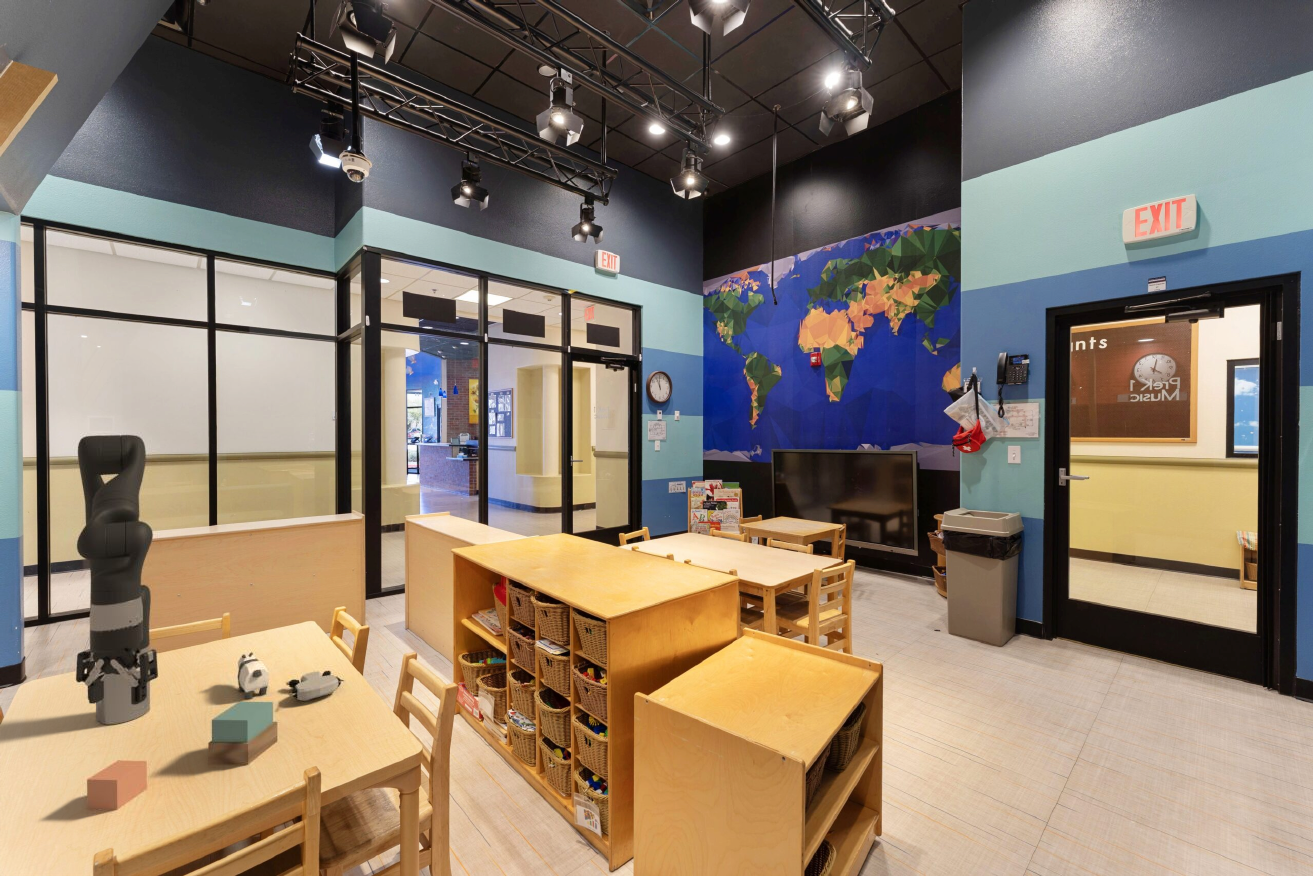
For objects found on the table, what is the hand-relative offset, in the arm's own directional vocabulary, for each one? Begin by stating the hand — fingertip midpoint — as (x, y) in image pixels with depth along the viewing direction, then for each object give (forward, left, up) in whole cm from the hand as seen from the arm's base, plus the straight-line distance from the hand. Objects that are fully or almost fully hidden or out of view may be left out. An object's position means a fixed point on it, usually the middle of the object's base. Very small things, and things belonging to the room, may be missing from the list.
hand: (117, 702), depth 108 cm
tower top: (+13, +16, -15) cm, 25 cm away
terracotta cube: (0, 0, -20) cm, 20 cm away
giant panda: (-7, +44, -20) cm, 49 cm away
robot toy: (+11, +44, -20) cm, 50 cm away
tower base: (+13, +16, -20) cm, 29 cm away
